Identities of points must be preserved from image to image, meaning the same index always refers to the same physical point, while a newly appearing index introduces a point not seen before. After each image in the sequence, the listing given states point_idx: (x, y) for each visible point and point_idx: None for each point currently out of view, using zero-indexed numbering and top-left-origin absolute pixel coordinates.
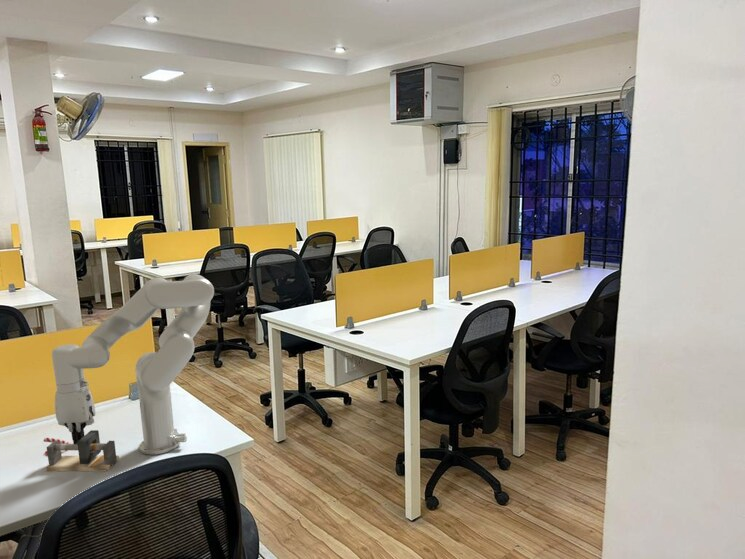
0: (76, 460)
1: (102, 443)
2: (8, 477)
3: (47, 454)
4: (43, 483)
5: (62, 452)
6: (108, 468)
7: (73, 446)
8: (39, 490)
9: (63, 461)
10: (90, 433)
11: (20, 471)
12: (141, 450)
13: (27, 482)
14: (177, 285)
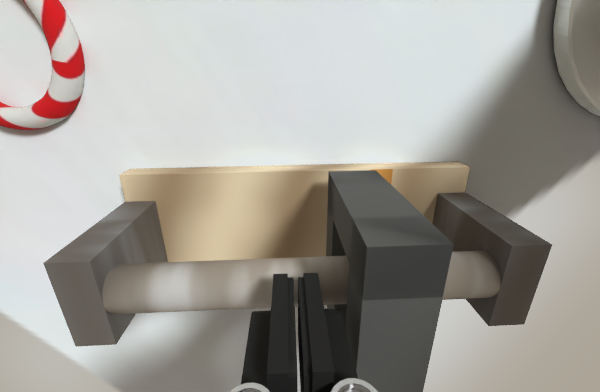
0: (258, 221)
1: (470, 282)
2: (23, 320)
3: (3, 125)
4: (218, 346)
5: (77, 94)
6: None
7: (262, 306)
8: (238, 379)
9: (193, 232)
10: (396, 307)
11: (27, 278)
12: (585, 98)
13: (146, 344)
14: None
